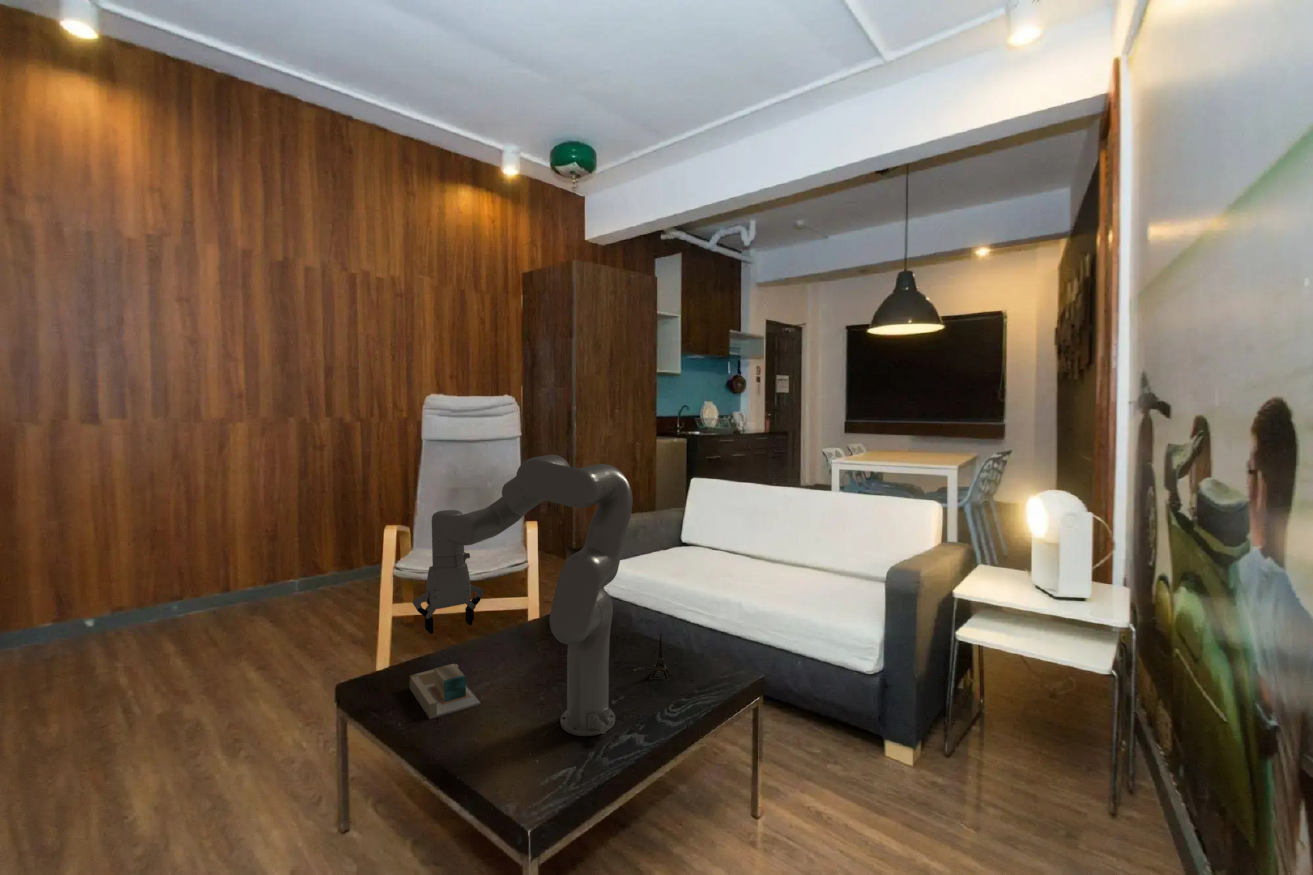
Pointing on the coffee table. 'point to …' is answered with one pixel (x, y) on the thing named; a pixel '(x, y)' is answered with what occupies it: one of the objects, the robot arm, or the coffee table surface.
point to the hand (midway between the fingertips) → (449, 628)
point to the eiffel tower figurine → (658, 664)
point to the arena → (437, 696)
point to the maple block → (449, 682)
